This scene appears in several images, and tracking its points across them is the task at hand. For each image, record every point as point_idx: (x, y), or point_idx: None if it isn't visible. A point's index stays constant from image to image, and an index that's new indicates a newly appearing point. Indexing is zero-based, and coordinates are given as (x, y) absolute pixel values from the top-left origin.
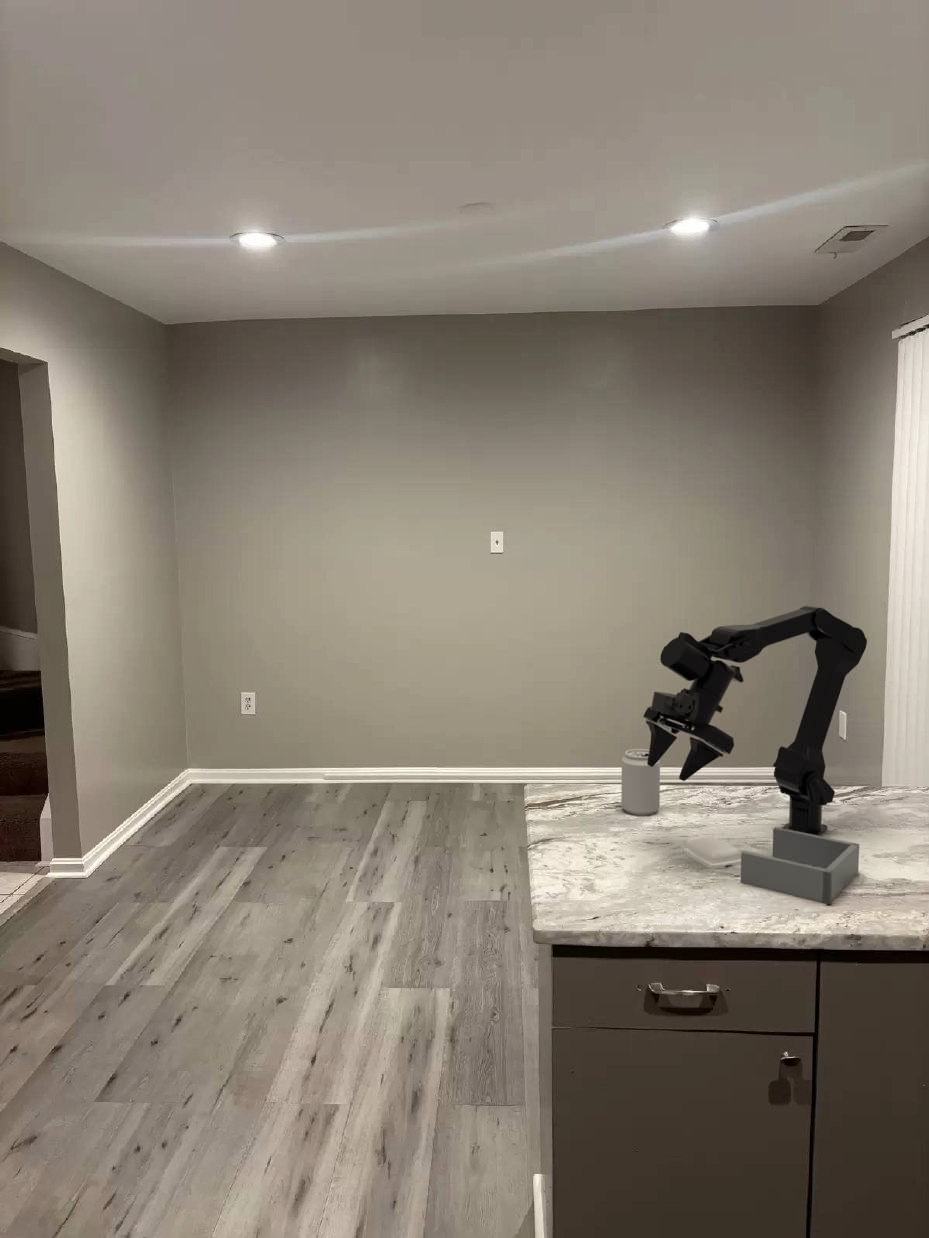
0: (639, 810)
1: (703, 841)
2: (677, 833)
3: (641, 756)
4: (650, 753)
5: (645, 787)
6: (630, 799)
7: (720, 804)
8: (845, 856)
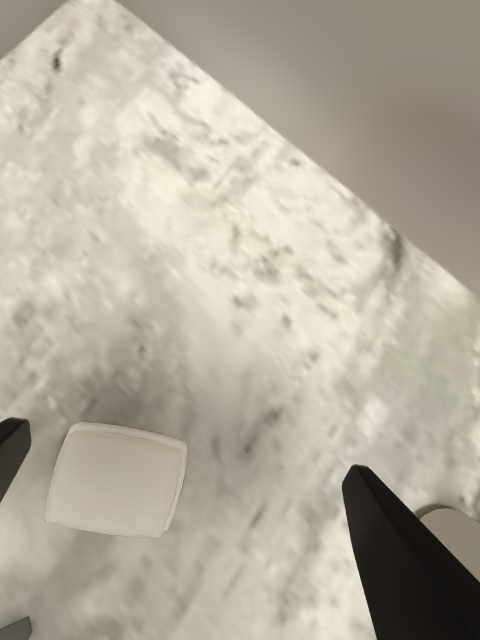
0: None
1: (137, 480)
2: (279, 516)
3: None
4: (410, 528)
5: None
6: (456, 527)
7: None
8: None
